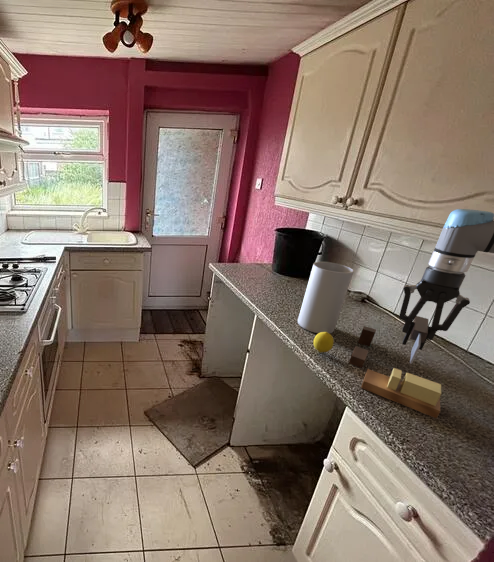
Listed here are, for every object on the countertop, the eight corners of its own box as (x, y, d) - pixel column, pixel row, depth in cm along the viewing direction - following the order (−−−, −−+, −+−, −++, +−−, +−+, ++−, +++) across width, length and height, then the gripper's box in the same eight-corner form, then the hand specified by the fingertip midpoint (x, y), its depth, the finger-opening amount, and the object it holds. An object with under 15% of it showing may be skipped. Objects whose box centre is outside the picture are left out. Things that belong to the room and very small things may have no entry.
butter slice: (396, 382, 89) (402, 370, 87) (395, 390, 85) (400, 378, 84) (388, 379, 90) (393, 367, 89) (387, 387, 87) (392, 375, 85)
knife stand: (370, 343, 112) (376, 329, 110) (362, 368, 98) (368, 352, 96) (358, 340, 115) (363, 325, 112) (348, 363, 101) (354, 347, 99)
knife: (420, 336, 93) (428, 318, 91) (418, 365, 79) (427, 346, 77) (408, 332, 95) (415, 315, 93) (403, 361, 81) (412, 341, 79)
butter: (435, 396, 84) (441, 384, 82) (435, 406, 80) (441, 393, 79) (401, 383, 88) (406, 372, 87) (400, 392, 85) (405, 380, 83)
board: (436, 402, 85) (440, 395, 84) (436, 418, 80) (440, 411, 79) (364, 375, 95) (367, 368, 94) (360, 387, 90) (363, 380, 89)
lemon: (308, 352, 106) (315, 331, 103) (313, 346, 110) (319, 326, 107) (327, 359, 103) (334, 338, 100) (331, 352, 106) (338, 332, 103)
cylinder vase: (294, 316, 130) (310, 260, 121) (329, 322, 126) (347, 264, 117) (299, 331, 119) (317, 269, 110) (337, 337, 115) (358, 275, 106)
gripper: (406, 265, 84) (376, 339, 93) (492, 281, 74) (450, 362, 83) (407, 259, 89) (379, 330, 98) (488, 274, 79) (449, 351, 88)
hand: (412, 345), depth 91 cm, fingers closed on knife, 3 cm apart
